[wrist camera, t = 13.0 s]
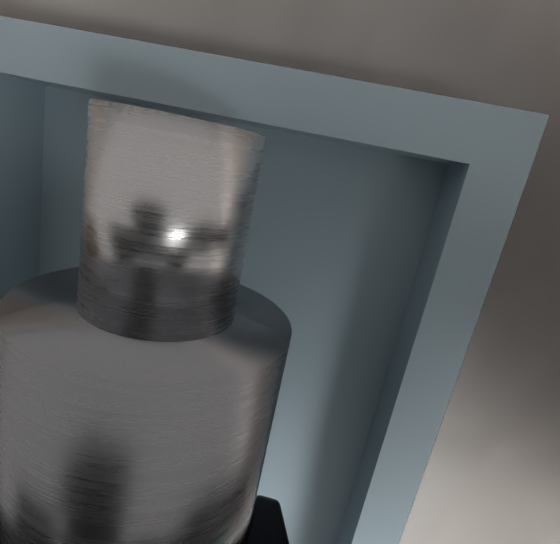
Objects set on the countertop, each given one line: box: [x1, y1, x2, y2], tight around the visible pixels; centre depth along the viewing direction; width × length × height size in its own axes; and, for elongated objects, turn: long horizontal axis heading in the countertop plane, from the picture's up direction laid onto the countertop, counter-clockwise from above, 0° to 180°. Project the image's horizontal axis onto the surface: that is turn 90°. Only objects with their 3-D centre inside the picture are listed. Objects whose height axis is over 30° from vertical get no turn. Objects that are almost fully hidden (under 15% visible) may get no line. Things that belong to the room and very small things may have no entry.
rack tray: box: [0, 16, 550, 544], centre depth 9 cm, size 9×19×2 cm, turn 169°
